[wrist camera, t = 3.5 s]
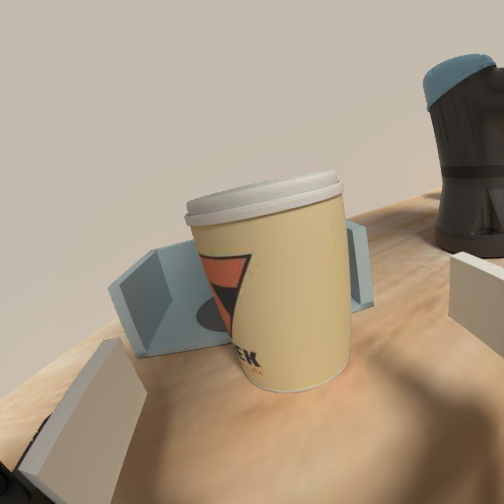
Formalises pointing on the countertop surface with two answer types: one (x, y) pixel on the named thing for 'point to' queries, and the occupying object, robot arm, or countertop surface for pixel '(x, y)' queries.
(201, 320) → the walled barrier
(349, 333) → the coffee cup
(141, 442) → the countertop surface
